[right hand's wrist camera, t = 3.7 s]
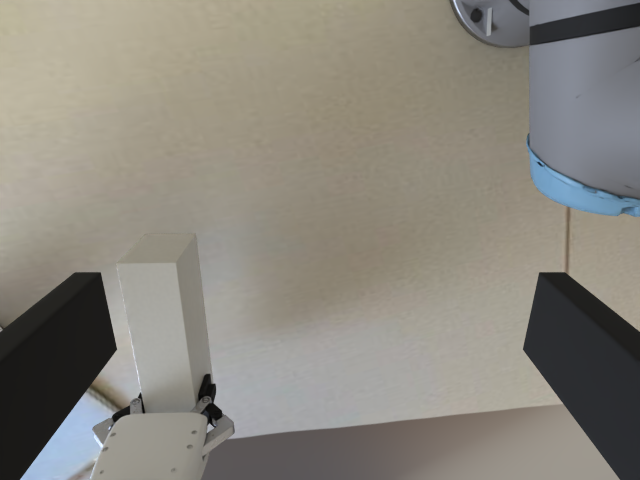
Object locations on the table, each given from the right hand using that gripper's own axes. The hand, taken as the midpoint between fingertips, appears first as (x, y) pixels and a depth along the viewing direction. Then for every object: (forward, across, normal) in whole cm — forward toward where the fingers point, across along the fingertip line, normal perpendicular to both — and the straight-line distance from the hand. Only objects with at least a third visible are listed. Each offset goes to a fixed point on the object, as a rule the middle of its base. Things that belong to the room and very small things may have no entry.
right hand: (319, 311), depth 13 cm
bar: (+35, -18, -22) cm, 45 cm away
